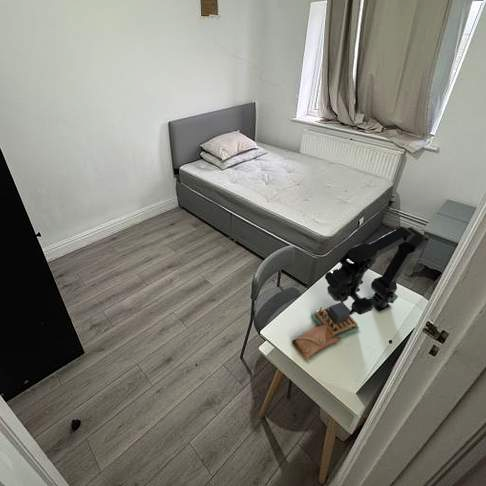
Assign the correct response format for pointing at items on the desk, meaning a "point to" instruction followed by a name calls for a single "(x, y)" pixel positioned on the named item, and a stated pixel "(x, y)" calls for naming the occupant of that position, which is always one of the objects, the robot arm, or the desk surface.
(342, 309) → the black box
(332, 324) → the wooden peg rack
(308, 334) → the sunglasses case
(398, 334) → the desk surface
